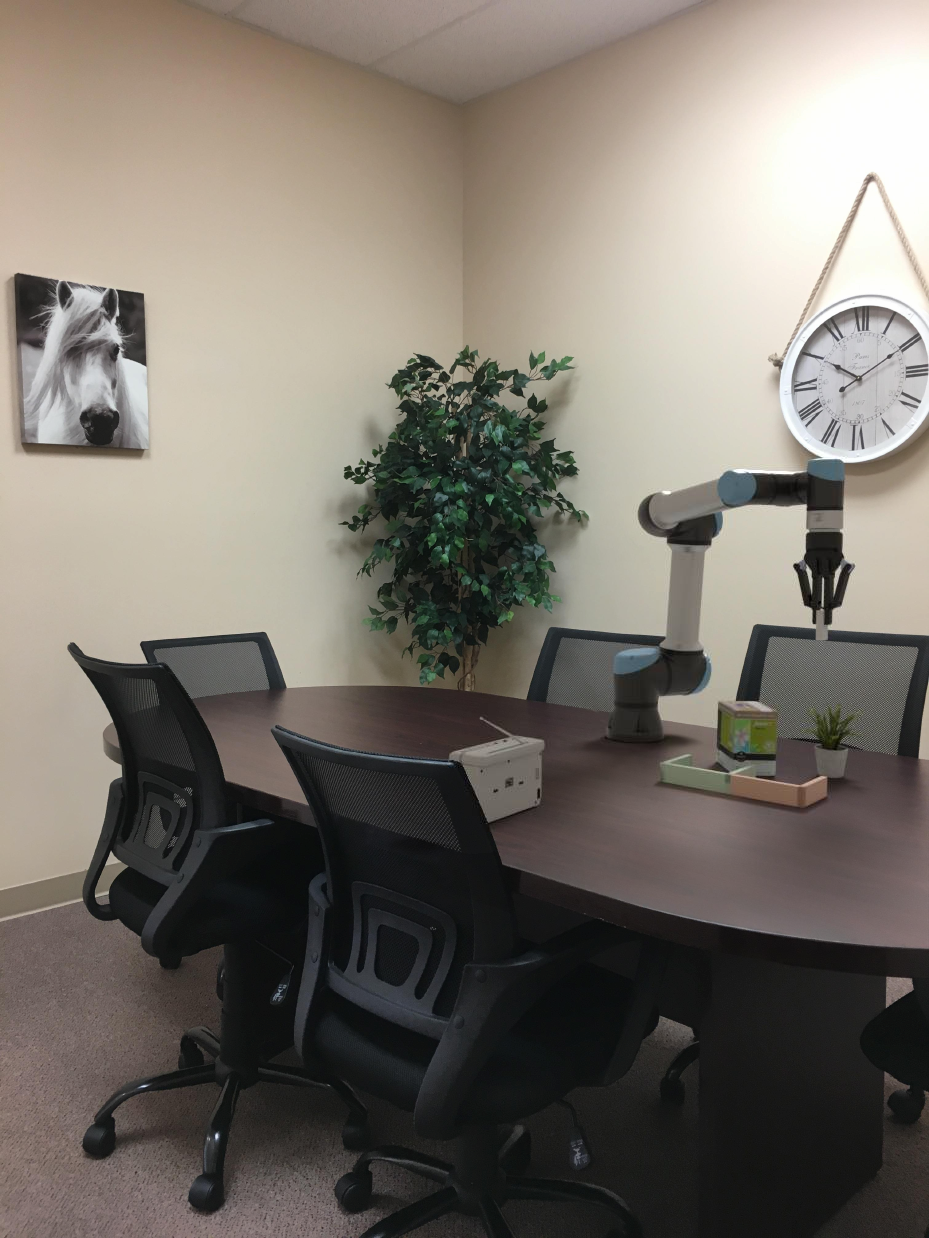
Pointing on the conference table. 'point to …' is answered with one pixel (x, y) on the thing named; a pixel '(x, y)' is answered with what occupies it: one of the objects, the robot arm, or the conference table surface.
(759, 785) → the terracotta bay
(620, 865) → the conference table surface
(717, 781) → the green bay
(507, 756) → the stereo radio cassette player
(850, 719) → the house plant
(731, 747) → the tea box
